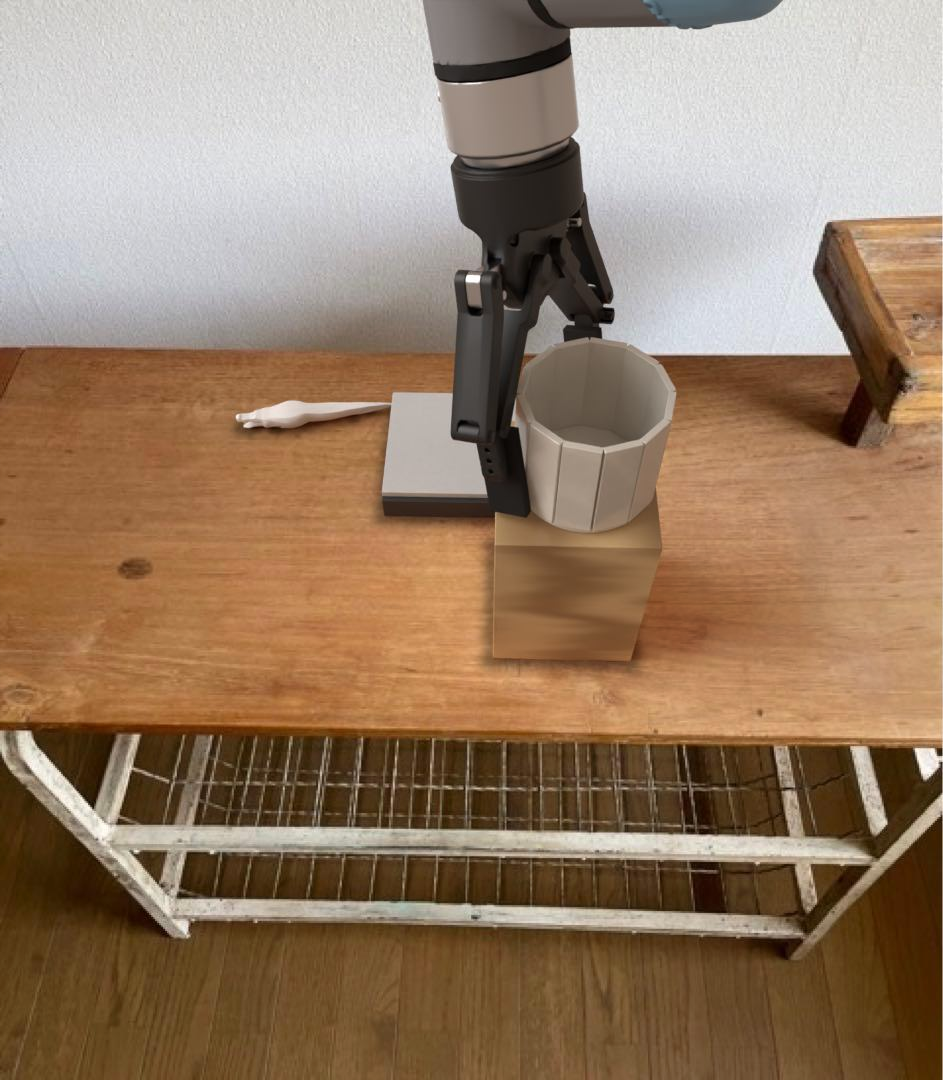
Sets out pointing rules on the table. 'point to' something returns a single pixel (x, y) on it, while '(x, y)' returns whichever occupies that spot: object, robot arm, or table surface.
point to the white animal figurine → (305, 413)
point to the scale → (430, 462)
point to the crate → (572, 587)
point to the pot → (593, 432)
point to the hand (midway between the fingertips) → (552, 456)
